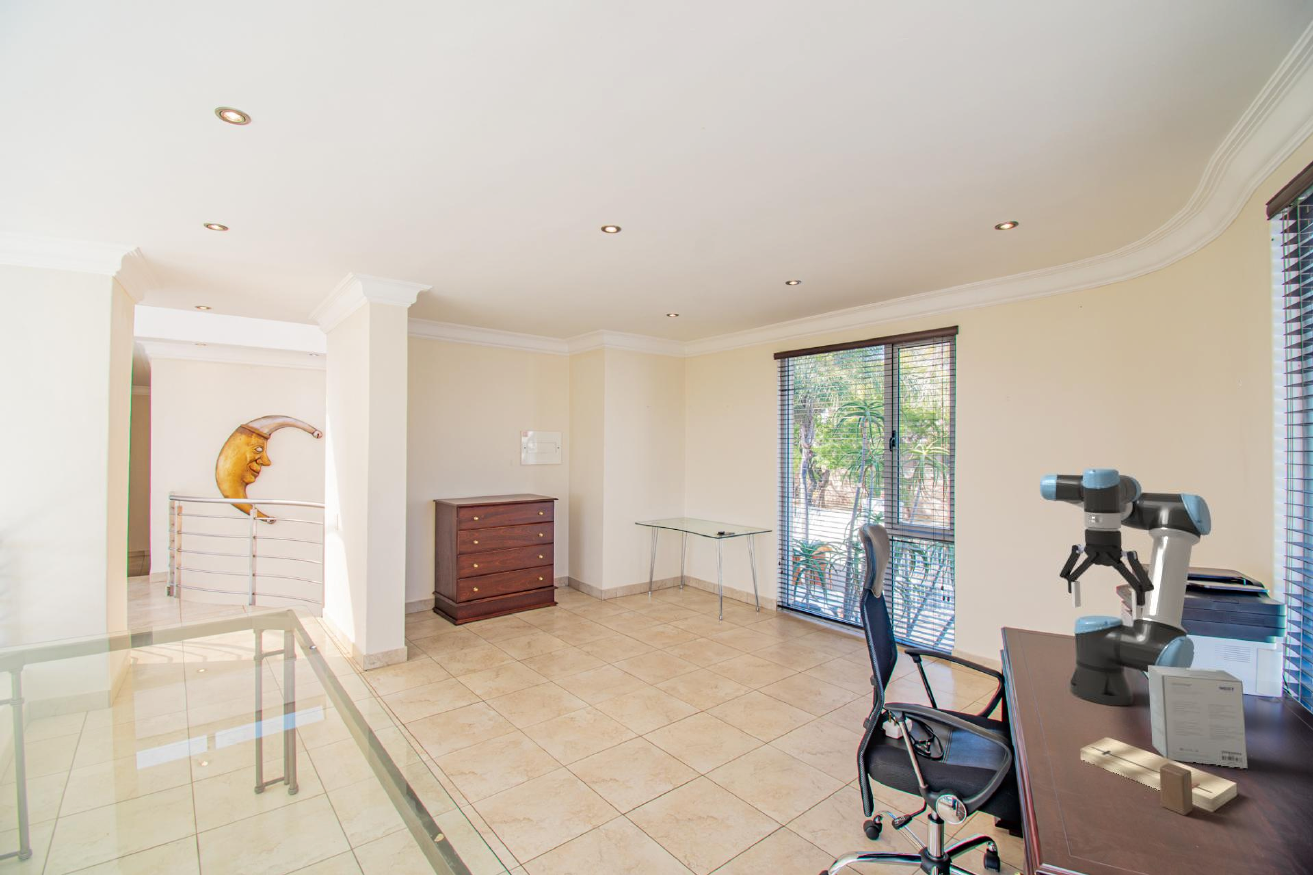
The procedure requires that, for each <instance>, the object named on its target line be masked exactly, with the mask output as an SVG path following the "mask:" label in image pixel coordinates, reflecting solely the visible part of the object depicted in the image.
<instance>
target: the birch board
mask: <svg viewBox="0 0 1313 875" xmlns="http://www.w3.org/2000/svg"><path fill="white" fill-rule="evenodd" d="M1079 752H1080V760H1081V761H1083V760H1085V761H1084V762H1085V763H1088V762H1089V763H1088V764H1091V765H1093V764H1095V765H1094V766H1095V767H1098V766H1099V768H1101V769H1103V768H1104V769H1103V770H1107V771H1108V772H1111V773H1113V772H1114V773H1113V774H1116V773H1117V775H1118V774H1119V776H1121V775H1122V777H1123V776H1124V778H1126V777H1127V778H1126V779H1128V778H1130V779H1129V780H1131V779H1133V780H1135V781H1134V782H1136V781H1138V782H1140V783H1139V784H1141V783H1142V784H1141V785H1143V784H1145V785H1144V786H1146V785H1147V786H1146V787H1148V786H1150V787H1149V788H1151V787H1152V788H1151V789H1153V788H1156V789H1157V790H1156V789H1155V790H1156V791H1158V790H1161V789H1160V767H1161V766H1163V765H1165V764H1167V763H1170V764H1173V765H1176V766H1179V767H1181V768H1184V769H1187V770H1190V771H1191V777H1192V802H1193V806H1195V807H1198V808H1200V809H1203V810H1206V811H1207V812H1208V811H1209V812H1211V813H1213V812H1214V811H1216V810H1217V809H1219V808H1220V807H1222V806H1224V805H1225V804H1226V803H1228V802H1229V801H1231V800H1232V799H1234V798H1235V797H1236V796H1238V793H1237V791H1238V790H1237V782H1234V781H1232V780H1231V781H1230V780H1228V779H1226V778H1223V777H1220V776H1218V775H1215V774H1212V773H1209V772H1206V771H1202V770H1200V769H1198V768H1194V767H1192V766H1189V765H1186V764H1185V763H1184V764H1183V763H1180V762H1179V761H1176V760H1170V759H1167V758H1165V757H1164V756H1161V755H1158V754H1155V753H1153V752H1150V751H1147V750H1144V749H1141V748H1138V747H1136V746H1134V745H1131V744H1128V743H1125V742H1122V741H1119V740H1116V739H1114V738H1111V737H1108V736H1106V737H1103V738H1102V739H1099V740H1097V741H1094V742H1093V743H1090V744H1088V745H1086V746H1084V747H1081V748H1080V751H1079ZM1133 780H1132V781H1133ZM1138 782H1137V783H1138Z"/></svg>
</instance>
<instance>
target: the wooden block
mask: <svg viewBox="0 0 1313 875" xmlns="http://www.w3.org/2000/svg"><path fill="white" fill-rule="evenodd" d="M1160 789H1161V791H1160V806H1161V807H1163V808H1165V809H1168V810H1170V811H1172V812H1174V813H1178V814H1180V815H1182V816H1186V815H1188V814H1190V813H1191V812H1192V811H1193V808H1194V805H1193V802H1192V777H1191V771H1190V770H1187V769H1184V768H1181V767H1179V766H1176V765H1173V764H1170V763H1167V764H1165V765H1163V766H1161V767H1160Z"/></svg>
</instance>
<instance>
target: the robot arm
mask: <svg viewBox="0 0 1313 875" xmlns="http://www.w3.org/2000/svg"><path fill="white" fill-rule="evenodd" d="M1039 492H1040V495H1041V497H1042V498H1043V499H1044V500H1047V501H1053V502H1058V501H1059V502H1065V503H1068V504H1070V505H1073V506H1077V507H1079V508H1082V509H1083V512H1084V514H1083V516H1084V527H1086V528H1085V529H1084V542H1085V545H1081V544H1073V545H1072V546H1071V552H1070V555H1069V556H1068V558H1067V560H1066V562H1065V564H1064V566H1063V568H1062V570H1061V571H1060V573H1059V578H1061V579H1064V580H1066V581H1067V591H1068V593H1069V594H1071V607H1072V608H1078V607H1081V606H1082V602H1081V582H1080V581H1078V579H1079V578H1080V577H1081V576H1082V575H1083V574H1084V573H1085V572H1086V571H1087V570H1088V569H1089V568H1090V567H1092V565H1094V566H1095V565H1096V566H1104V567H1112V568H1113V569H1114V570H1116V571H1117V572H1118V573H1119V574H1120V575H1121V576H1122V577H1123V579H1124V580H1125V581H1126V582H1127V583H1128V585H1130V587H1131V588H1132V589H1134V591H1132V592H1131V606H1132V607H1131V611H1132V620H1133V622H1132V626H1131V625H1125V624H1124V621H1123V619H1122V618H1120V617H1115V616H1112V615H1111V616H1109V615H1087V616H1086V615H1085V616H1080V617H1079V618H1077V619H1076V620H1075V623H1074V632H1073V633H1074V647H1075V668H1074V671H1073V673H1072V676H1071V678H1070V680H1069V690H1070V692H1071V693H1072V694H1073V693H1074V694H1075V696H1076V695H1077V696H1076V697H1078V698H1080V697H1081V698H1080V699H1083V700H1085V699H1086V701H1089V702H1092V701H1093V702H1092V703H1097V704H1100V705H1101V704H1103V705H1108V706H1128V705H1131V704H1133V703H1134V694H1133V691H1132V689H1131V686H1130V683H1129V680H1128V679H1127V677H1126V674H1125V668H1127V669H1133V670H1136V671H1141V672H1144V673H1148V665H1151V666H1167V667H1182V668H1192V665H1193V661H1194V657H1195V652H1194V650H1195V644H1194V641H1193V640H1192V639H1191V638H1190V637H1188V636H1187V635H1188V632H1187V630H1186V629H1185V628H1184V627H1183V626H1182V619H1183V618H1182V617H1183V612H1184V611H1183V610H1184V603H1185V598H1186V590H1187V583H1188V576H1189V569H1190V561H1191V557H1192V556H1191V555H1192V547H1193V546H1195V545H1198V544H1199V543H1200V542H1201V536H1203V537H1205V536H1208V535H1210V533H1211V531H1212V519H1211V518H1212V517H1211V513H1210V510H1209V507H1208V504H1207V502H1206V500H1205V498H1204V497H1202V496H1201V495H1198V494H1187V493H1167V492H1166V493H1162V492H1143V491H1142V486H1141V483H1140V482H1139V480H1137V479H1136V478H1134V477H1133V476H1130V475H1126V474H1119V471H1118V470H1117V469H1115V468H1087V469H1085V470H1084V471H1083V474H1082V475H1081V474H1058V473H1056V474H1045V475H1044V476H1043V477H1041V480H1040V482H1039ZM1122 526H1124V527H1127V528H1131V529H1136V530H1142V531H1147V532H1148V535H1149V536H1150V537H1151V538H1152V539H1153V541H1152V548H1151V556H1150V561H1149V568H1148V573H1147V572H1146V571H1145V569H1144V568H1143V566H1142V564H1141V562H1140V560H1139V556H1138V551H1136V550H1128V551H1127V550H1125V551H1124V550H1123V549H1122V544H1123V543H1122V541H1123V540H1122V531H1121V530H1119V529H1121V528H1122ZM1083 553H1085V555H1086V556H1087V557H1086V558H1085V559H1084V560H1083V561H1082V563H1080V565H1079V566H1077V567H1076V564H1077V563H1078V560H1079V558H1080V556H1081V555H1082V554H1083ZM1122 557H1124V558H1125V559H1126V560H1127V561H1128V564H1129V566H1130V567H1131V569H1132V572H1133V573H1134V574H1135V575H1134V574H1133V573H1132V572H1131V570H1130V569H1129V568H1128V567H1127V566H1126V564H1125V563H1124V562H1123V560H1122ZM1075 567H1076V568H1075ZM1074 568H1075V569H1074ZM1074 694H1073V695H1074Z"/></svg>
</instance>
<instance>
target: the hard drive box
mask: <svg viewBox="0 0 1313 875" xmlns="http://www.w3.org/2000/svg"><path fill="white" fill-rule="evenodd" d="M1147 674H1148V685H1149V686H1148V687H1149V689H1148V690H1149V704H1150V705H1149V707H1150V720H1151V722H1150V723H1151V734H1152V736H1151V738H1152V746H1153V747H1154V748H1155V749H1156V751H1158V753H1159V754H1160V755H1162V757H1164V758H1167V759H1170V760H1173V761H1176V762H1185V763H1193V762H1196V763H1195V764H1202V763H1203V764H1204V765H1210V764H1216V765H1215V766H1218V765H1221V766H1220V767H1223V766H1229V767H1228V768H1234V767H1240V768H1239V769H1243V768H1247V769H1248V758H1247V757H1248V756H1247V741H1246V723H1245V709H1244V708H1245V706H1244V686H1243V681H1242V680H1241V679H1239V678H1237V677H1235V676H1233V675H1232V674H1230V673H1229V672H1227V671H1226V670H1220V669H1219V670H1218V669H1206V668H1205V669H1204V668H1196V667H1195V668H1194V667H1193V668H1192V667H1190V668H1182V667H1167V666H1151V665H1148V672H1147ZM1203 764H1202V765H1203Z"/></svg>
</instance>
